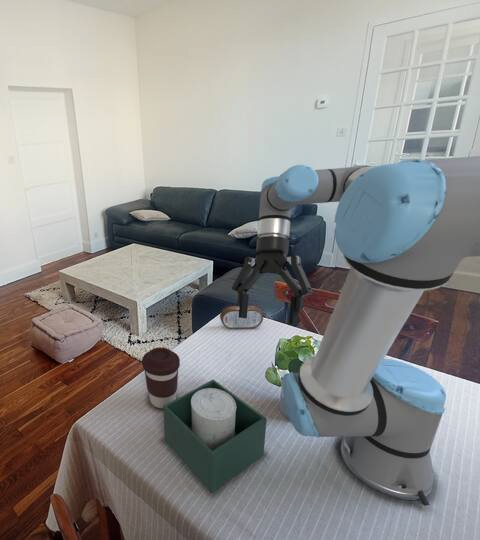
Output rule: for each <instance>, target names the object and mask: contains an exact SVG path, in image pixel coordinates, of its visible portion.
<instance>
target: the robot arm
mask: <svg viewBox="0 0 480 540" xmlns="http://www.w3.org/2000/svg"><path fill="white" fill-rule="evenodd" d="M259 197H260V199H259V213H258V223H257V224H258V225H257V232H256V233H257V235H256V236H257V239H256V247H255V248H256V249H255V252H256V255H255V256H256V257H255V258H254V257H250V256H246V257H245V258H244V262H243V266H242V267H241V269H240V271H239V273H238V275H237V277H236V279H235V280H234V283H233V284H232V286H231V290H232V291H234V292H236V293H237V300H236V302H237V306H239V317H238V318H246V319H247V311H248V306H249V297H250V294H248V291H249V290H250V289H251V288H252V287H253V286H254V285H255V284H256V282H257V281H258V280H259V279H260V278H261V277H262V276H264V275H269V276H270V275H275V276H277V275H279V276H280V277H281V279H282V280H283V281H284V282H285V284H286V286H287V287H288V288H289V289H290V290H291V292H292V293H293V295H291V296H290V304H289V305H290V308H289V320H288V325H296V326H298V325H299V317H300V312H302V311H303V310H304V299H305V297H306V296H312V295H313V294H314V291H313V288H312V286H311V283H310V282H309V279H308V277H307V275H306V273H305V271H304V268H303V266H302V258H301V256H299V255H296V254H292V255H290V256H288V253H289V247H290V240H289V239H288V238H289V237H290V231H291V217H292V209H293V208H294V207H296V206H298V205H310V204H324V203H325V204H326V203H338V204H337V208H336V210H335V215H334V223H335V224H336V227H335V228H334V230H333V231H334V239H335V242H336V245H337V247H338V249H339V251H340V252H341V253H342V255H343V259H344V262H345V263H346V265H347V266H348V267H349V270H348V272H347V276H346V278H345V281H344V283H343V286H342V287H341V291H340V293H339V296H338V298H337V300H336V302H335V306H334V308H333V311H332V313H331V316H330V318H329V321H328V323H327V326H326V328H325V330H324V333H323V336H322V338H321V341H320V344H319V346H318V349H317V350H316V354H315V355H314V356H310V357H309V358H307V359H306V360H305V361H303V363H302V364H301V366H300V369H299V371H298V373H297V372H296V373H295V372H293V371H291V372H290V373H285V374H284V375H283V376H282V379H281V389H282V396H283V401H284V405H285V409H286V412H287V416H288V417H289V418H288V419H289V421H290V422H291V424H292V427H293V428H294V430H295V431H296V432H297V433H298V434H299V435H301V436H304V437H316V438H318V439H319V438H339V437H342V439H341V444H340V455H341V458H342V460H343V462H344V464H345V466H346V467H347V469H349V471H350V472H351V473H352V474H353V475H354V476H355V477H356V478H357V479H358V480H360V481H361V482H362V483H364V484H365V485H366V486H368V487H369V488H371V489H373V490H375V491H377V492H379V493H380V494H383V495H385V496H388V497H391V498H395V499H399V500H406V501H415V500H420V502H421V504H422V505H423V506H425V507H427V506H430V503H429V500H428V498H427V496H428V495H429V494H430V493H431V492H432V490H433V487H434V484H435V471H434V467H433V461H432V458H431V452H430V451H431V449H432V444H433V443H434V440H435V437H436V434H437V431H438V428H439V426H440V423H441V419H442V417H443V414H444V413H445V410H446V409H445V404H446V399H447V393H446V390H445V387H444V386H442V384H441V383H440V382H439V381H438V380H437V379H436V378H434V377H433V376H432V375H430V374H429V373H428V372H426V371H424V370H422V369H420V368H418V367H417V366H413V365H411V364H409V363H406V362H403V361H399V360H395V359H389V358H385V357H386V355H387V354H388V352H389V351H390V348H392V346H393V344H394V342H395V341H396V339H397V337H398V335H399V333H400V332H401V330H402V329H403V327H404V325H405V324H406V323H407V321H408V319H409V317H410V316H411V313H412V312H413V310H414V308H415V307H416V305H417V304H418V302H419V300H420V298H421V297H422V295H423V293H424V292H425V291H432V290H436V289H439V288H441V287H443V286H445V285H446V284H447V283H448V282H449V281H450V280H451V278H452V276H453V275H454V273H455V271H457V268H458V267H459V265H460V264H461V263H462V261H463V260H464V259H465V258H469V257H471V258H472V257H480V155H476V156H464V157H451V158H450V157H449V158H437V159H421V158H418V159H408V160H402V161H399V162H396V163H395V162H394V163H388V164H381V165H357V166H347V167H337V168H323V169H321V168H320V169H314V168H312V167H311V166H309V165H305V164H296V165H292V166H291V167H289V168H287V169H286V170H285V171H284V172H282V173H281V174H279V176H271V177H269V178H266V179H264V180H263V182H262V184H261V189H260V192H259ZM288 264H289V265H290V266H291V268H292V270H293V274H294V275H295V277H296V280H297V281H296V280H295V279H294V277H292V275H291V274H290V272H289V270H288V269H287V268H286V266H287V265H288ZM255 265H256V266H255ZM254 266H255V267H254ZM253 267H254V268H253ZM250 273H251V274H250Z"/></svg>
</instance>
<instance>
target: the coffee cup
mask: <svg viewBox="0 0 480 540" xmlns="http://www.w3.org/2000/svg"><path fill="white" fill-rule="evenodd" d="M141 365H142V369H143V371H144V377H145V382H146V383H145V384H146V389H147V392H148V398H149V401H150V404H151V405H152V406H153V407H154V408H158V409H163V406H164V405H166V404H168V403H170V402H172V401H173V400H175V399H177V390H178V379H179V369H180V366H181V361H180V356H179V355H178V354H177V353H176V352H175V351H173V350H171V349H170V348H167V347H162V346H161V347H160V346H159V347H154V348H152V349H150V350H148V352H146V353H145V354H144V355H143V356H142V358H141Z"/></svg>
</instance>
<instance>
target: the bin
mask: <svg viewBox="0 0 480 540" xmlns="http://www.w3.org/2000/svg"><path fill="white" fill-rule="evenodd" d="M206 388H214V389H219V390H222V391H224V392H226V393H228V394H229V395H230V396H231V397H232V398H233V399H234V401H235V403H236V415H235V436H234V437H233V438H232V439H230V440H229V441H227V442H226V443H224V444H223V445H221V446H219V447H218V448H216V449H215V450H213V451H212V450H211V449H210V448H209V447H208V446H207V445H206V444H205V443H204V442H203V441H202V440H201V439H200V438H199V437H198V436H197V435H196V434H195V433H193V432H192V406H191V399H192V396H193V395H194V394H195V393H196V392H197V391H199V390H202V389H206ZM162 410H163V429H164V441H165V443H167V445H168V446H169V447H170V448H171V449H172V451H174V452H175V454H176V455H177V456H178V457H179V458H180V459H181V460H182V461H183V462H184V464H185V465H186V466H187V467H188V468H189V470H190V471H192V473H193V474H194V475H195V476H196V477H197V478H198V480H199V481H201V483H202V484H203V485H204V486H205V487H206V488H207V489H208V491H209V492H210V493H211V494H213V493H214V492H215V491H217V490H219V489H220V488H221V487H222V486H224V485H225V484H226V483H228V482H230V480H232V479H233V478H235V477H236V476H237V475H239V474H240V473H241V472H242V471H244V470H245V469H247V468H248V467H249V466H251V465H252V464H254V463H255V462H256V461H258V460H259V459H260V458H262V457H263V456H264V453H265V443H266V441H265V440H266V431H267V421H268V420H267V419H268V418H267V417H265V416H264V415H263V414H261V413H260V412H259V411H257V410H256V409H255V408H253V407H252V406H251V405H249V404H248V403H246V402H245V401H244V400H242V399H241V398H239V397H238V396H237V395H235V394H234V393H233V392H231V391H230V390H228V389H227V388H226V387H224V386H223V385H222V384H221V383H219V382H218V381H216V380H215V379H211V380H209V381H207V382H205V383H203V384H201V385H200V386H197V387H196V388H194V389H192V390H190V391H188V392H187V393H185V394H183V395H181V396H179V397H176V399H175V400H173V401H172V402H170V403H168V404H166V405H164V406H163V408H162Z"/></svg>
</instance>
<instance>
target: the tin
mask: <svg viewBox="0 0 480 540" xmlns="http://www.w3.org/2000/svg"><path fill="white" fill-rule="evenodd" d="M238 317H239V305H231V306H226V307H225V308H223V309H222V310H221V312H220V314H219V319H220V321H221V323H222V325H223V326H224V327H225V328H227V329H254V328H258V327H259V326H260V325H262V323H263V321H264V314H263V312H262V310H261V309H260V308H259V307H258V306H256V305H248V311H247V319H246V318H238Z"/></svg>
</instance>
